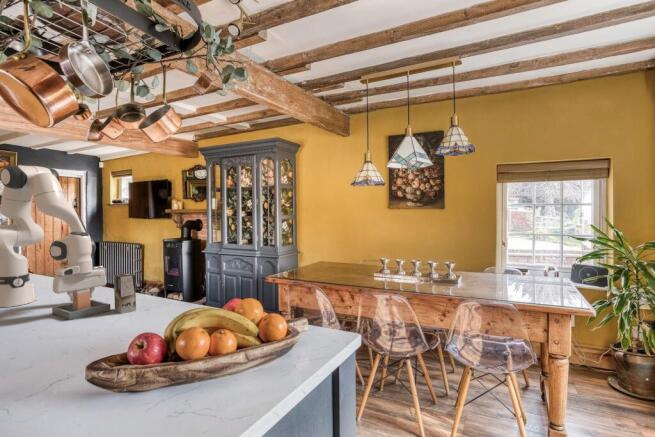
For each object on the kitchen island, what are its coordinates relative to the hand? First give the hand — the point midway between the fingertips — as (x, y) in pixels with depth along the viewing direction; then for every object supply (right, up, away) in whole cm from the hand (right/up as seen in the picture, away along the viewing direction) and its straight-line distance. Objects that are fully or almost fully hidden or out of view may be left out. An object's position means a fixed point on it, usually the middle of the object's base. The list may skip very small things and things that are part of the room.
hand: (81, 299), depth 159 cm
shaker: (0, -4, 0) cm, 4 cm away
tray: (0, -6, 0) cm, 6 cm away
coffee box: (+18, -6, +3) cm, 19 cm away
